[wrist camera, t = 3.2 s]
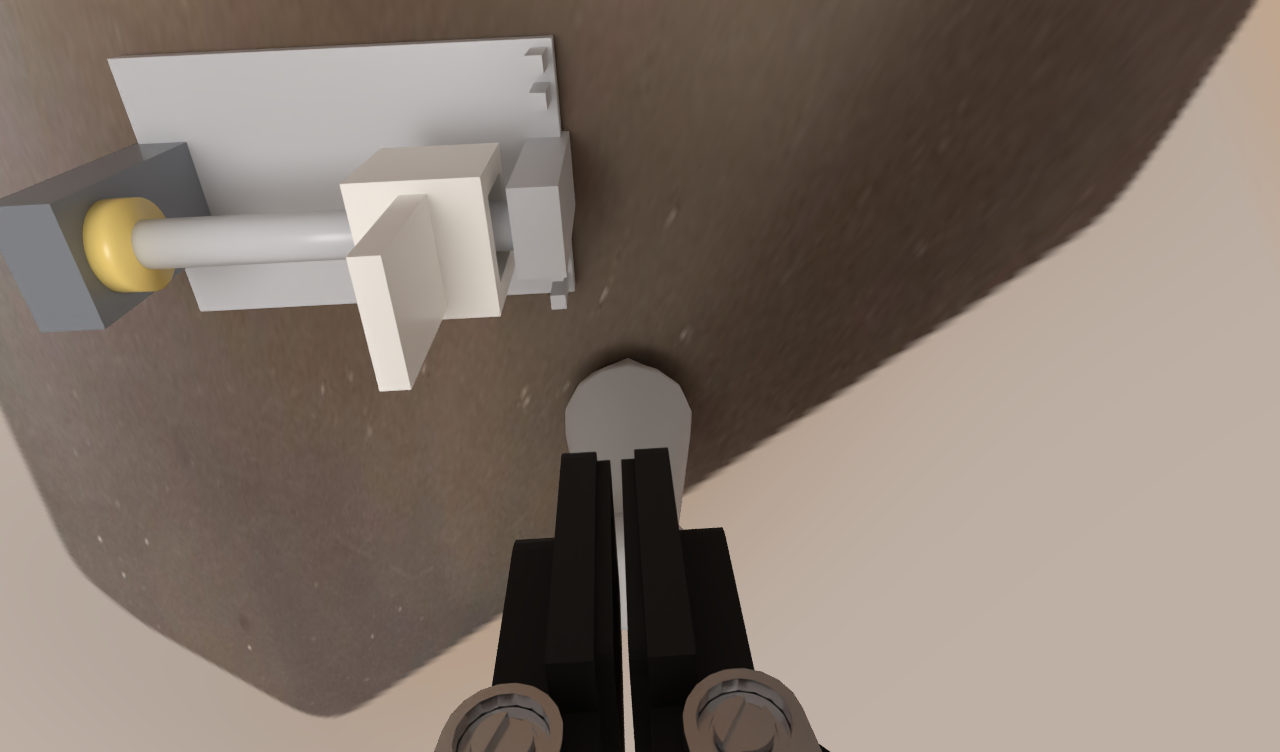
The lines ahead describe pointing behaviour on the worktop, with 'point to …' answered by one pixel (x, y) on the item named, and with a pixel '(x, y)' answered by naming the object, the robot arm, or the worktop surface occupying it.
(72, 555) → the worktop surface
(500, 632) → the robot arm
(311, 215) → the slider rail rig
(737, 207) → the worktop surface
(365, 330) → the square collar block
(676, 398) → the salt shaker
